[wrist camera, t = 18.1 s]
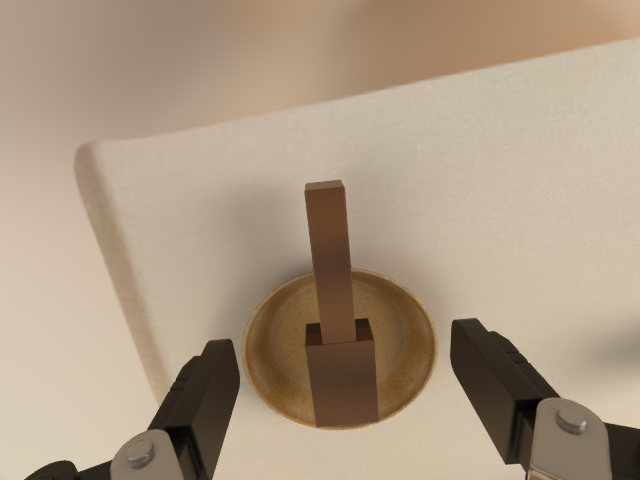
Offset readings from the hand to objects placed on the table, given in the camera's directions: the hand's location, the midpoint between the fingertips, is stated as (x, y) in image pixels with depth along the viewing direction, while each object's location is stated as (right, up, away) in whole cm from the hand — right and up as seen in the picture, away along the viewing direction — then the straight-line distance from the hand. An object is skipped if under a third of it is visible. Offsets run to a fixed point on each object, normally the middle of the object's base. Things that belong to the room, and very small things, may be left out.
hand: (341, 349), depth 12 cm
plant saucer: (+1, -4, +15) cm, 16 cm away
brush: (0, 0, +11) cm, 11 cm away
